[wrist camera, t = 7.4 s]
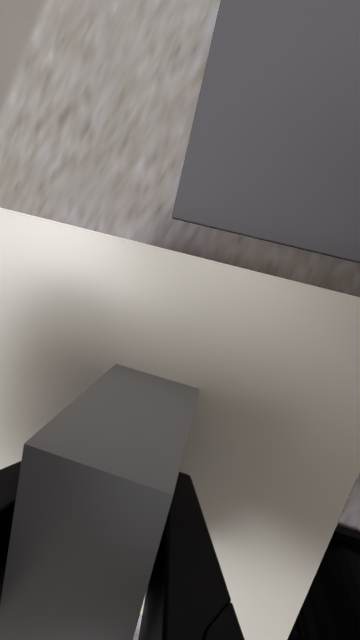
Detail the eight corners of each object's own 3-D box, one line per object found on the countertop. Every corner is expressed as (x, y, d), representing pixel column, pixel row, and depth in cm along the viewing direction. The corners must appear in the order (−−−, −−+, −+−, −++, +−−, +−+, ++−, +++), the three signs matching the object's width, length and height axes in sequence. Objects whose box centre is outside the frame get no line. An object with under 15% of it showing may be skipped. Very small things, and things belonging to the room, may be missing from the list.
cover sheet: (404, 308, 8) (667, 373, 3) (270, 630, 11) (306, 937, 6) (8, 209, 9) (-228, 150, 5) (-27, 517, 12) (-202, 689, 7)
